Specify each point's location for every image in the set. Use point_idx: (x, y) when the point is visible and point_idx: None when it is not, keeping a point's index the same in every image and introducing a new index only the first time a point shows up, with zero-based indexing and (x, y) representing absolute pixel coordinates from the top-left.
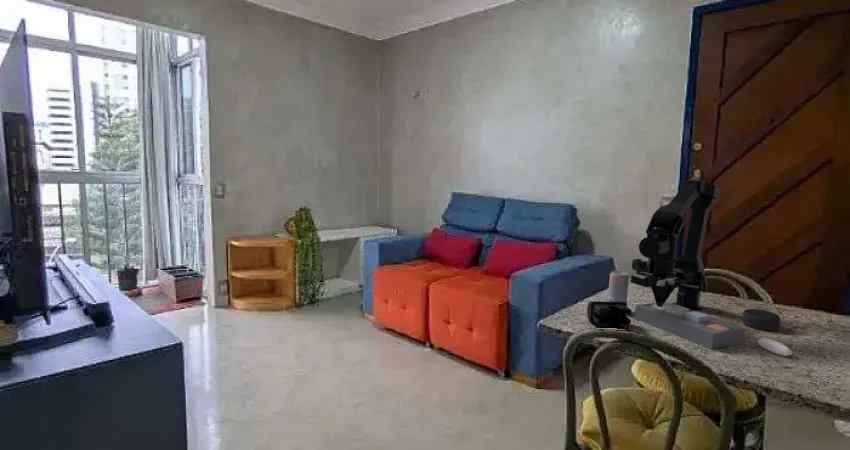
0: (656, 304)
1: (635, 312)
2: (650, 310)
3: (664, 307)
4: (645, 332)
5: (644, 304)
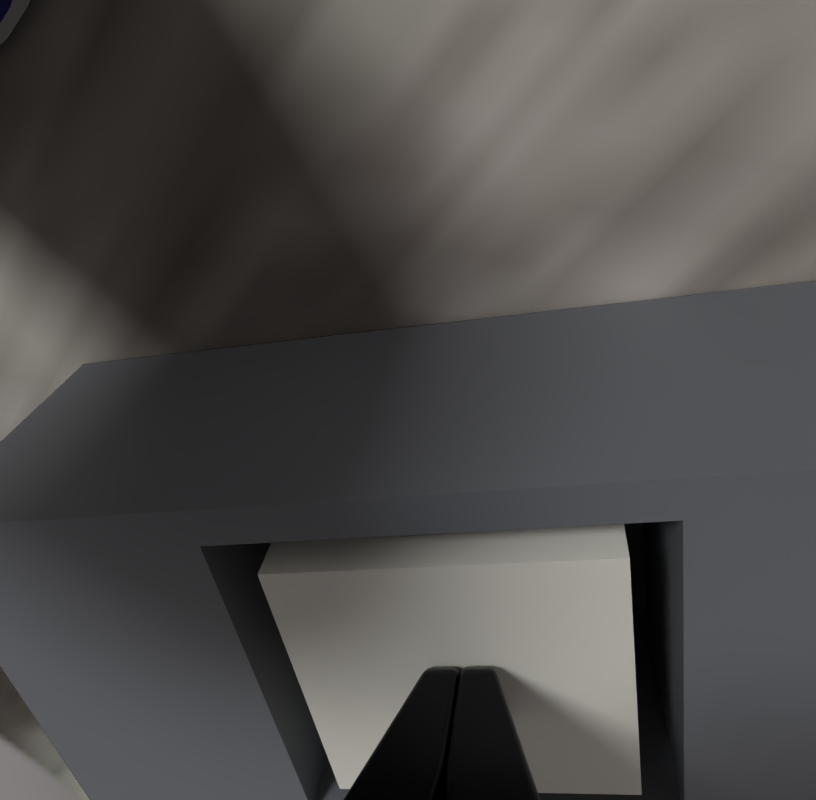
0: (520, 582)
1: (21, 436)
2: (94, 790)
3: (527, 758)
4: (15, 735)
5: (169, 527)
